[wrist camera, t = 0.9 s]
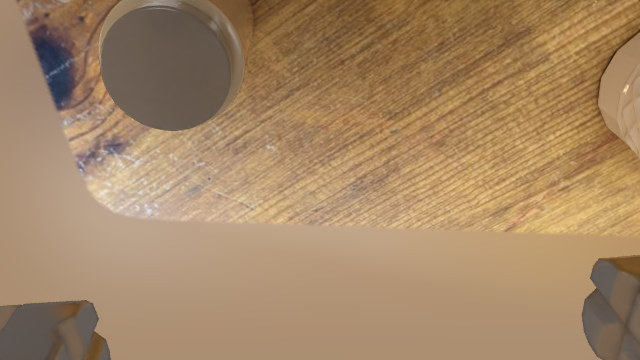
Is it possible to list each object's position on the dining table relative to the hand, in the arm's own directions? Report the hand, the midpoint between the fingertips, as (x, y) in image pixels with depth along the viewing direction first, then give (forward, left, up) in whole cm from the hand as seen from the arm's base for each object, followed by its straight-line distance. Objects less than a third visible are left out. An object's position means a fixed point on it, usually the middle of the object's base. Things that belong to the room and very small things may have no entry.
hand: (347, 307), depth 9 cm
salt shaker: (-3, -4, -20) cm, 20 cm away
